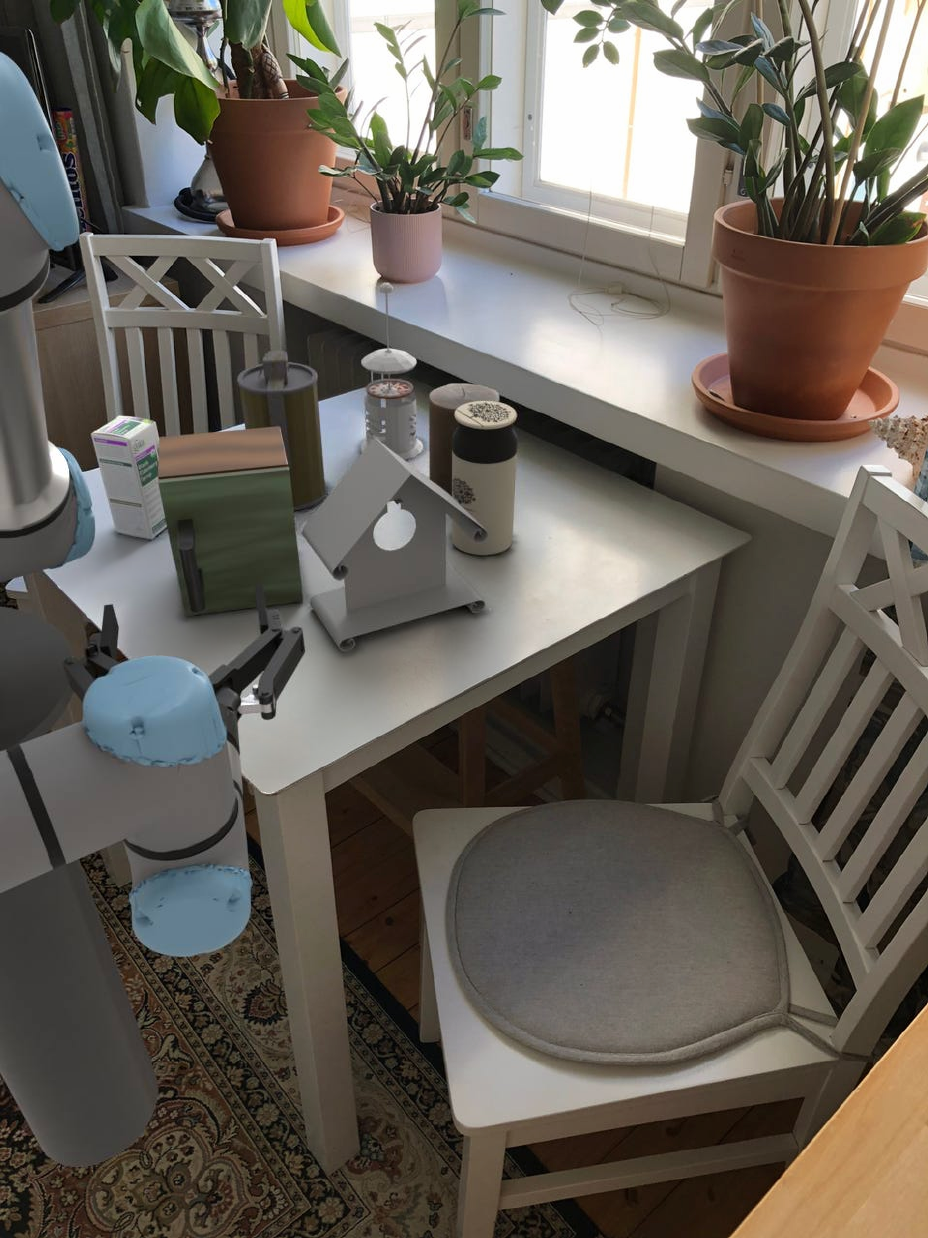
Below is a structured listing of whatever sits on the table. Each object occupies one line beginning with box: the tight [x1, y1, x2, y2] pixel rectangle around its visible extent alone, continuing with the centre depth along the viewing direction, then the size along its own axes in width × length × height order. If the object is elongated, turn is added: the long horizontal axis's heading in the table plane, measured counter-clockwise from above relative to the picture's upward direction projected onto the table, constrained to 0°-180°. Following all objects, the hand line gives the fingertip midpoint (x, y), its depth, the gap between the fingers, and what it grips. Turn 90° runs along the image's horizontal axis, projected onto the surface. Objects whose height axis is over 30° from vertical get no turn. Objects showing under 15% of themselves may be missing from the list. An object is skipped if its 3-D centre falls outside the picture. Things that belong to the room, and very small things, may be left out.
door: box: [158, 467, 304, 617], centre depth 101 cm, size 7×14×17 cm, turn 104°
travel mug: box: [451, 401, 519, 556], centre depth 116 cm, size 8×8×18 cm
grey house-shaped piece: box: [301, 437, 488, 653], centre depth 103 cm, size 18×10×20 cm, turn 117°
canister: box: [236, 350, 328, 512], centre depth 125 cm, size 11×10×20 cm
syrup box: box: [90, 415, 167, 540], centre depth 119 cm, size 6×6×14 cm
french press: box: [360, 282, 424, 461], centre depth 137 cm, size 10×12×25 cm
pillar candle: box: [428, 383, 500, 497], centre depth 130 cm, size 10×10×15 cm
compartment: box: [158, 426, 288, 480], centre depth 108 cm, size 10×14×18 cm
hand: (187, 606), depth 87 cm, fingers open, 13 cm apart
